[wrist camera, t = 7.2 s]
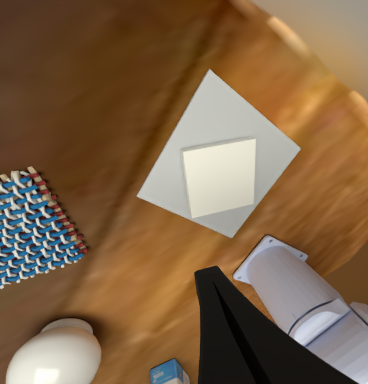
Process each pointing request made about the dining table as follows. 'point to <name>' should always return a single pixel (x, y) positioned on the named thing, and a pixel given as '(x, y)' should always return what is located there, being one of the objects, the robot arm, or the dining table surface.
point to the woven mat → (33, 229)
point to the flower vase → (57, 355)
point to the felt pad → (213, 133)
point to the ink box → (169, 374)
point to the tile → (219, 176)
